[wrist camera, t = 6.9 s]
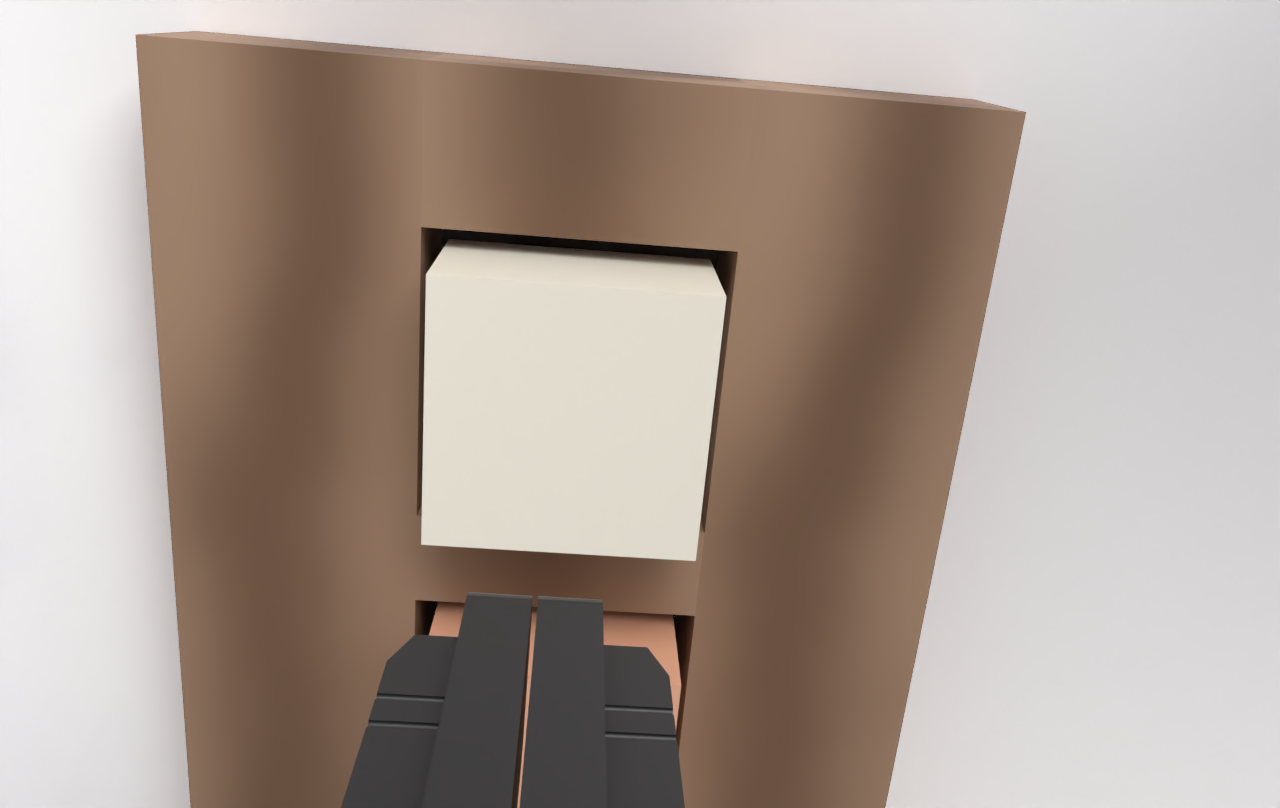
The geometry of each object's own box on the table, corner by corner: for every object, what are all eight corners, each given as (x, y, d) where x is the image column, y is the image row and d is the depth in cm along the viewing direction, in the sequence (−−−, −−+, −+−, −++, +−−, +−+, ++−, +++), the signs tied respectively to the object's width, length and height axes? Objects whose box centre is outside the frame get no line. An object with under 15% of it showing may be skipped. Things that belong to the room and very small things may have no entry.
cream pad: (710, 258, 22) (726, 296, 19) (684, 494, 23) (696, 561, 20) (448, 239, 21) (425, 274, 18) (442, 479, 23) (421, 545, 20)
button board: (973, 99, 23) (1026, 112, 20) (794, 1064, 32) (812, 1166, 29) (196, 31, 22) (135, 34, 19) (250, 1047, 31) (215, 1151, 28)
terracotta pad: (671, 606, 24) (681, 685, 21) (651, 793, 26) (657, 888, 23) (440, 593, 24) (419, 671, 21) (435, 783, 26) (415, 878, 23)
